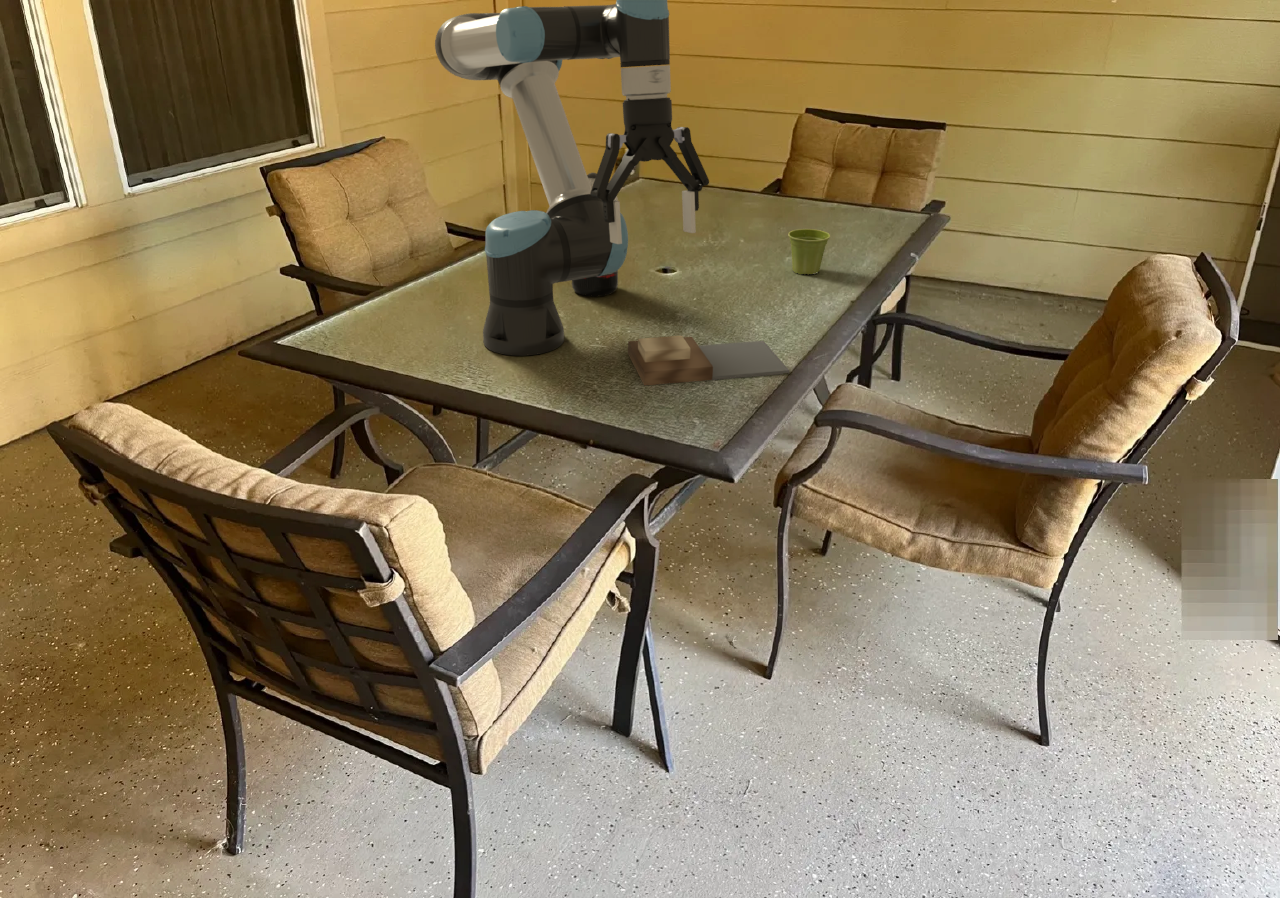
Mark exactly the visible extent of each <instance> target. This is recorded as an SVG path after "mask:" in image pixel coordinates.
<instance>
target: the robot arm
mask: <svg viewBox="0 0 1280 898" xmlns="http://www.w3.org/2000/svg"><path fill="white" fill-rule="evenodd" d="M615 1H616V2H615V4H602V5H572V6H571V5H570V6H568V5H567V6H525V5H523V6H516V7H508V8H504V9H503V10H501V11H500V12H489V13H488V12H485V13H480V12H478V13H477V12H473V13H471V12H470V13H465V14H461V15H457V16H454V17H451V18H449V19H447V20H446V21H444V22H443V23H442V25H441V26H440V27H439V28H438V31H437V32H436V35H435V41H434V50H435V54H436V56H437V57H436V58H438V61H439V63H440V64H441V65H442V66H443V68H444V69H445V70H447V72H449V73H450V74H452V75H453V76H455V77H458V78H461V79H464V80H469V81H491V80H492V81H493V80H494V81H495V80H497V82H498V84H499V88H500V91H501V92H502V94H503V95H504V96H505V97H508V98H510V99H512V100H513V103H514V106H515V110H516V113H517V115H518V118H519V120H520V124H521V128H522V130H523V133H524V135H525V139H526V141H527V143H528V144H527V145H528V147H529V150H530V153H531V156H532V159H533V163H534V164H535V167H536V170H537V171H536V172H537V174H538V176H539V179H540V183H541V184H542V187H543V191H544V195H545V197H546V199H547V202H548V205H549V207H548V208H547V210H546V212H545V211H543V210H536V209H535V210H534V209H533V210H531V209H530V210H527V211H526V210H519V211H513V212H508V213H505V214H503V215H500V216H498V217H496V218H495V219H492V221H491V222H489V224H488V225H487V226H486V229H485V246H484V252H485V255H486V257H485V258H486V266H487V267H486V268H487V276H488V277H487V280H488V281H487V282H488V292H489V305H488V310H487V313H486V317H485V322H484V325H483V329H482V338H483V345H484V346H485V348H487V349H488V350H490V351H491V352H494V353H496V354H502V355H505V356H518V357H519V356H520V357H521V356H536V355H540V354H546V353H549V352H551V351H554V350H555V349H557V348H559V347H560V346H561V345H563V343H564V342H565V330H564V325H563V323H562V320H561V317H560V315H559V313H558V310H557V307H556V304H555V301H554V290H553V289H554V284H558V283H564V282H570V281H571V282H572V280H577V279H583V278H589V277H595V276H597V277H600V276H602V275H604V274H609V273H613V272H615V271H617V270H618V271H619V270H620V269H621V267H622V266H623V265H624V262H625V260H626V258H627V253H628V248H629V247H628V246H629V233H628V227H627V222H626V219H625V217H624V215H623V213H621V205H620V204H621V203H620V200H618V201H615V200H614V199H615V198H616V196H617V197H618V195H619V193H620V191H621V190H622V188H623V186H624V185H625V183H626V181H627V180H628V178H629V177H630V175H631V173H632V171H634V168H635V167H636V166H637V165H638V164H639V163H640V162H643V163H644V162H645V163H646V162H650V161H663V162H665V164H666V165H667V166H668V167H669V168H670V170H671V171H672V172H673V174H674V175H675V176H676V177H677V179H679V181H680V182H681V183H682V185H683V186H684V187H685V189H687V190H681V199H682V200H681V201H682V202H681V203H682V227H683V229H682V231H683V232H684V233H689V234H695V233H697V232H696V227H697V226H696V212H697V211H699V209H700V206H699V205H700V204H699V203H700V202H699V200H700V199H699V198H700V196H699V192H701V191H702V190H703V187H705V186H706V187H707V186H708V185H709V184H710V179H709V177H708V175H707V172H706V170H705V168H704V166H703V164H702V161H701V158H700V157H699V155H698V153H697V151H696V148H695V146H694V144H693V142H692V136H691V129H690V128H689V127H687V126H684V127H683V126H678V127H676V129H675V128H674V129H673V128H672V121H673V110H672V109H673V105H672V102H673V101H672V99H671V97H668V94H670V93H671V91H672V89H671V87H672V86H671V65H670V64H671V62H670V60H671V58H670V56H671V55H670V53H671V52H670V49H671V48H670V17H669V16H670V10H669V9H668V7H669V6H668V0H615ZM613 58H619V60H620V63H619V64H620V77H621V79H620V80H621V81H620V82H621V94H622V96H624V97H625V99H624V100H623V102H622V115H623V116H622V117H623V125H624V133H623V134H618V133H611V132H610V133H607V134H606V136H605V150H604V151H603V152H604V153H603V155H602V159H601V161H600V163H599V168H598V170H597V175H596V178H595V181H594V184H593V186H592V188H591V185H590V183H589V180H588V177H587V175H588V174H587V171H586V169H585V166H584V164H583V160H582V157H581V155H580V152H579V149H578V146H577V143H576V141H575V137H574V135H573V132H572V130H571V126H570V124H569V120H568V117H567V113H566V111H565V108H564V106H563V102H562V100H561V98H560V95H559V92H558V89H557V85H556V82H557V80H558V79H559V75H560V74H559V72H560V71H561V68H562V64H563V60H564V61H565V60H567V61H569V60H587V59H591V60H592V59H598V60H604V59H606V60H607V59H608V60H610V59H611V60H612V59H613ZM673 141H675V143H677V146H678V148H679V150H680V152H681V154H682V156H683V159H684V160H685V163H686V166H687V167H688V168H687V167H686V166H685V164H684V163H683V162H682V161H681V159H680V158H679V157H678V154H677V152H675V150H674V149H673V148H672V147H671V145H672V143H673ZM623 145H624V146H625V147H626V148H627V150H626V152H625V153H624V154H623V156H622V158H621V162H620V164H619V165H618V167H617V169H616V170H615V172H614V173H613V170H614V169H615V165H616V162H617V159H618V156H619V153H620V150H621V148H622V147H623ZM688 169H689V170H688ZM612 174H613V175H612Z"/></svg>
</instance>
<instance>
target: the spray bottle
mask: <svg viewBox="0 0 1280 898" xmlns="http://www.w3.org/2000/svg"><path fill="white" fill-rule="evenodd" d="M596 175H597V173H596V172H590V173H588V174H587V177H588V180H589V183H590V185H591V188H592V186H593V184H594V181H595V178H596ZM614 200H615V201H619V199H618V195H617V196H616V198H615V199H614ZM618 273H619V269H618V270H617V271H615V272H613V273H609V274H604V275H602V276H600V277H597V276H595V277H589V278H583V279H577V280H571V286H572V287H571V288H572V290H573V291H574V292H575V293H576V294H579V295H582V296H586V297H603V296H608V295H611V294H613V293H614V292H616V290H617V289H618V285H619V277H618V276H619V274H618Z"/></svg>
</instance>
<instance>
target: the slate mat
mask: <svg viewBox="0 0 1280 898" xmlns="http://www.w3.org/2000/svg"><path fill="white" fill-rule="evenodd" d="M698 346H699V347H700V349H701V350H702V352H703V353H704V354H705V356H706V357H707V359H708V360H709V362H710V363H711V364H712V366H713V377H712V380H711V381H715V380H726V379H727V380H728V379H736V378H737V379H738V378H748V377H749V378H750V377H751V378H752V377H760V376H761V377H762V376H772V375H773V376H774V375H784V374H783V373H788V374H790V369H789V368H788V367H787V366H786V365H785V364H784V362H783V361H782V360H781V359H780V358H779V356H778V355H777V354H776V353H775V352H774V351H773V350H772V349H771V348H770V347H769V345H768V344H767V343H766V341H764V340H755V341H742V342H741V341H740V342H729V343H716V344H702V345H698Z"/></svg>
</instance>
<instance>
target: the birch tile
mask: <svg viewBox="0 0 1280 898" xmlns="http://www.w3.org/2000/svg"><path fill="white" fill-rule="evenodd" d="M683 337H684V336H682V335H671V336H658V337H657V336H656V337H645V338H644V337H643V338H637V341H638V350H639V352H640V354H641V356H642V357H643V359H644V361H645V362H656V361H668V360H681V359H690V347H689V345H688V344H687V342H686V341H685V339H684V338H683Z"/></svg>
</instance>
